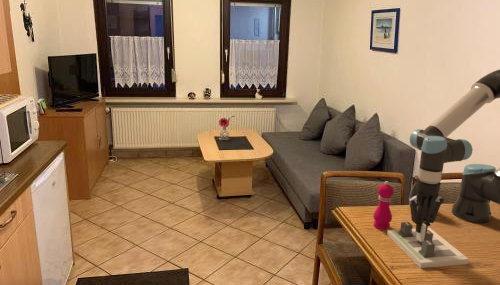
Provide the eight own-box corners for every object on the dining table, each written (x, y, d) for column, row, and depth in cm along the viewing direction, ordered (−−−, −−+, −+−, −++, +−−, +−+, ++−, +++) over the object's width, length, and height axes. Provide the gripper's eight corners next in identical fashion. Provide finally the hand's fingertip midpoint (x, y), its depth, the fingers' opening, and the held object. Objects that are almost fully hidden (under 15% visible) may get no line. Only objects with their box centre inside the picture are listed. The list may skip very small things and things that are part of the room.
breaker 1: (408, 231, 154) (410, 221, 153) (413, 236, 151) (414, 225, 150) (398, 232, 153) (399, 221, 152) (402, 236, 150) (403, 225, 149)
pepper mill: (391, 231, 158) (398, 185, 153) (373, 229, 160) (378, 183, 154) (389, 223, 165) (395, 178, 160) (371, 221, 167) (376, 177, 161)
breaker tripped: (428, 240, 148) (430, 229, 147) (433, 244, 145) (435, 233, 144) (417, 241, 147) (419, 230, 146) (422, 245, 144) (424, 234, 143)
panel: (428, 231, 159) (429, 226, 159) (467, 264, 137) (468, 258, 137) (386, 234, 156) (387, 229, 156) (420, 268, 134) (421, 262, 134)
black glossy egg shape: (412, 202, 186) (417, 172, 182) (435, 210, 179) (440, 178, 175) (402, 209, 179) (407, 177, 175) (425, 216, 172) (430, 184, 168)
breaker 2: (429, 251, 141) (431, 239, 140) (435, 256, 138) (437, 244, 137) (418, 252, 140) (420, 240, 139) (423, 257, 137) (425, 245, 136)
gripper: (439, 175, 144) (429, 233, 150) (406, 176, 141) (398, 235, 148) (452, 183, 136) (442, 243, 143) (418, 184, 134) (409, 246, 141)
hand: (419, 239), depth 145 cm, fingers closed
